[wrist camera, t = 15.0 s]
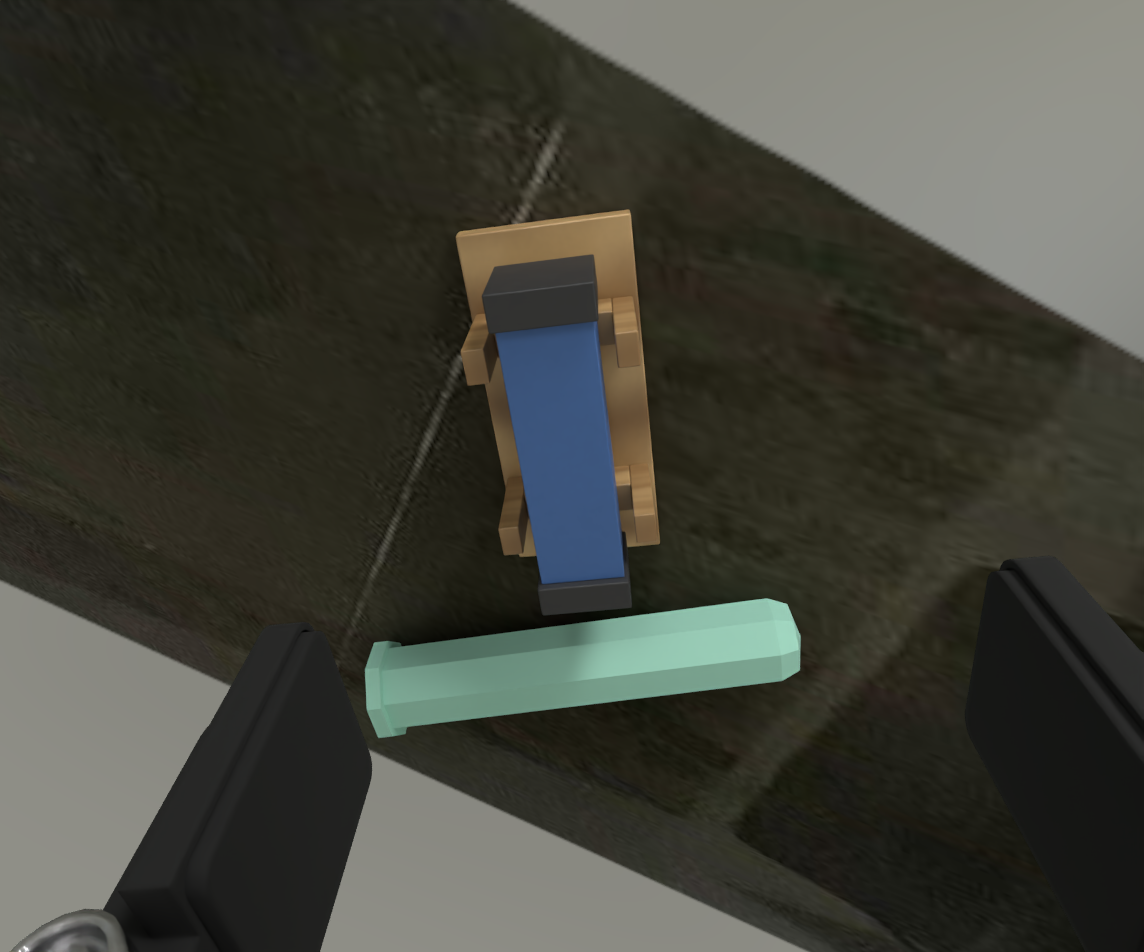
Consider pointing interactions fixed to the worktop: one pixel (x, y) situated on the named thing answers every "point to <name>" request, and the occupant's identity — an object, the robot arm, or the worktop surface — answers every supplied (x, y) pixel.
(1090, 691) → the robot arm
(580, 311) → the handle
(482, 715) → the mint octagonal rod
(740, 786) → the worktop surface
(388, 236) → the worktop surface
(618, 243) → the holder
